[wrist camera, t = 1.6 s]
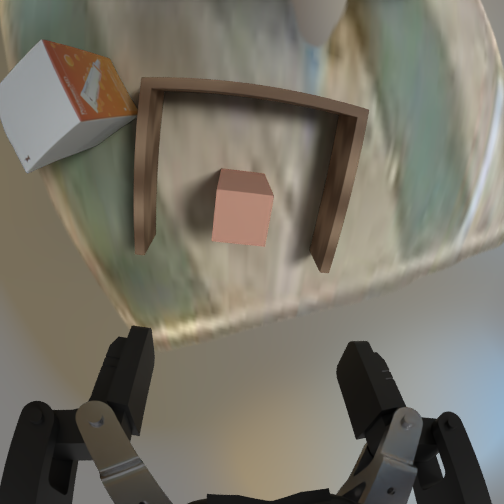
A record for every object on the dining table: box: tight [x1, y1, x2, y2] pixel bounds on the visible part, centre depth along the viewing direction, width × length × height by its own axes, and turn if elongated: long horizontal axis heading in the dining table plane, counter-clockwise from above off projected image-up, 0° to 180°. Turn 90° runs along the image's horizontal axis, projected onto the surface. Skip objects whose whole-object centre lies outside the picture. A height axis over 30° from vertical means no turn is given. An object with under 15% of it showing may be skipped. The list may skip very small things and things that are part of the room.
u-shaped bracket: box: [134, 77, 369, 273], centre depth 27 cm, size 17×20×5 cm
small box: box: [0, 39, 138, 173], centre depth 19 cm, size 8×6×13 cm
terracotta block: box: [212, 169, 274, 247], centre depth 27 cm, size 4×4×8 cm
